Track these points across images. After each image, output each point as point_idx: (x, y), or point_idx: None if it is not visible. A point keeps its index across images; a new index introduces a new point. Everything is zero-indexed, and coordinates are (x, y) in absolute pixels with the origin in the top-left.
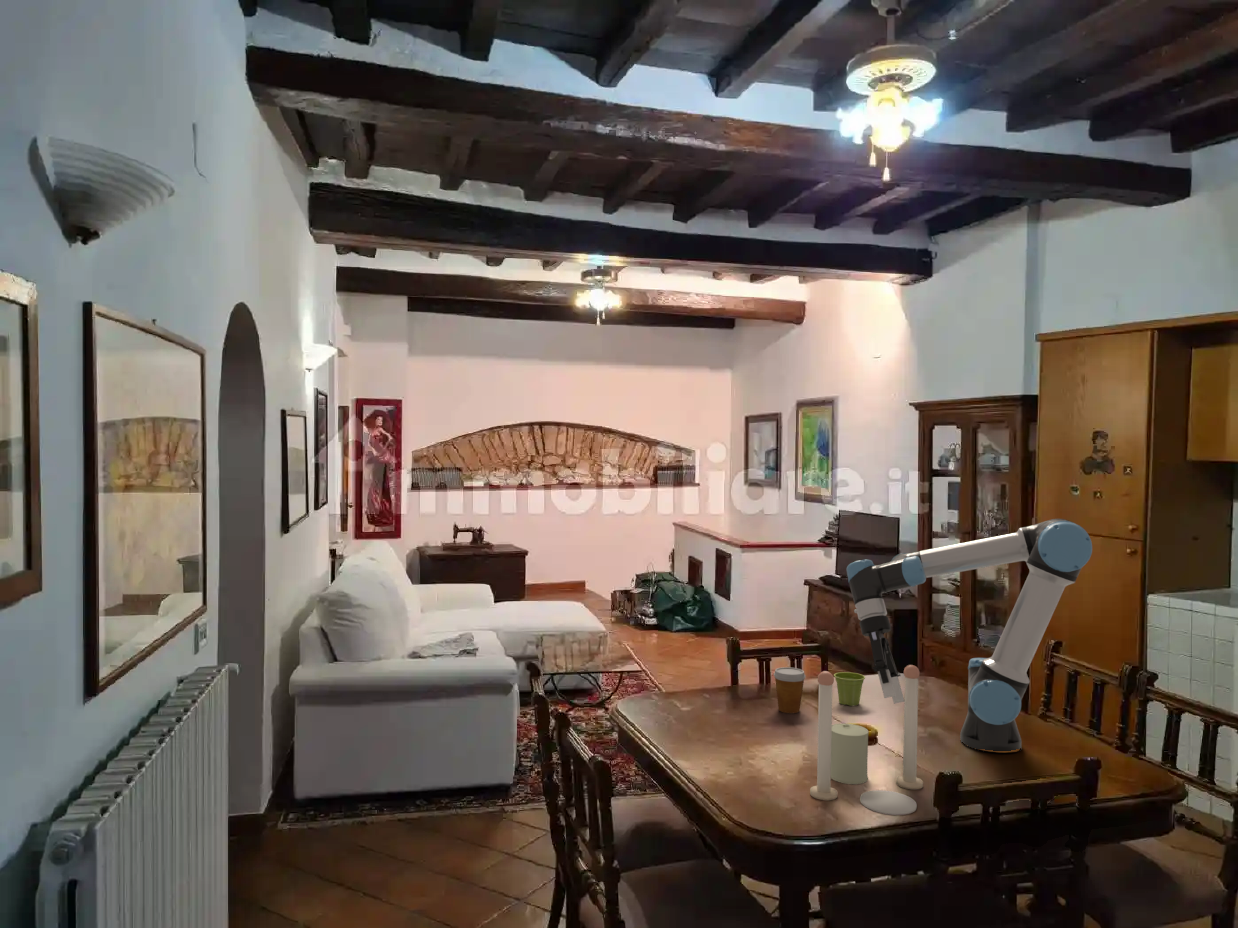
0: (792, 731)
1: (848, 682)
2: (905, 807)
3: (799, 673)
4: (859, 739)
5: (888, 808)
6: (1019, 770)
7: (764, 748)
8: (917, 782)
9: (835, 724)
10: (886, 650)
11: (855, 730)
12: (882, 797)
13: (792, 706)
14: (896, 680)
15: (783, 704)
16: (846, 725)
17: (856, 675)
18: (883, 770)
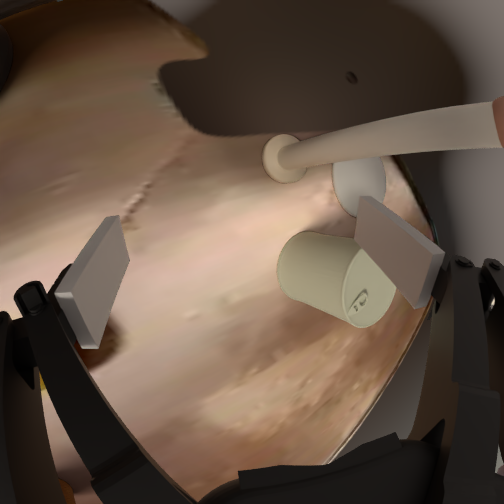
0: (146, 448)
1: None
2: None
3: None
4: None
5: (379, 173)
6: (96, 2)
7: (259, 426)
8: (289, 143)
9: (358, 325)
10: (462, 383)
11: (371, 271)
12: (358, 188)
13: (63, 489)
14: (85, 286)
15: (74, 499)
16: (367, 298)
17: None
18: (242, 221)
